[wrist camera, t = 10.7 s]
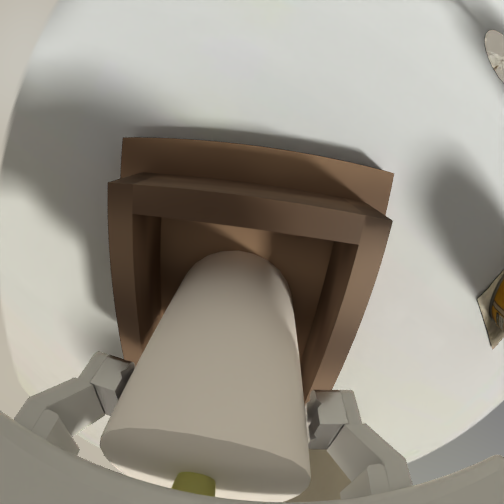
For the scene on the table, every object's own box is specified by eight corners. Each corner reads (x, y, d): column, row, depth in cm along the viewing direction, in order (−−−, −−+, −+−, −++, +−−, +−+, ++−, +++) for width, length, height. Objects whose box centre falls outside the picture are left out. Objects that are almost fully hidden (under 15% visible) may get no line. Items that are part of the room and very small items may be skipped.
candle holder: (135, 137, 14) (84, 139, 9) (383, 170, 14) (428, 184, 9) (141, 357, 20) (118, 403, 15) (319, 382, 20) (327, 434, 15)
